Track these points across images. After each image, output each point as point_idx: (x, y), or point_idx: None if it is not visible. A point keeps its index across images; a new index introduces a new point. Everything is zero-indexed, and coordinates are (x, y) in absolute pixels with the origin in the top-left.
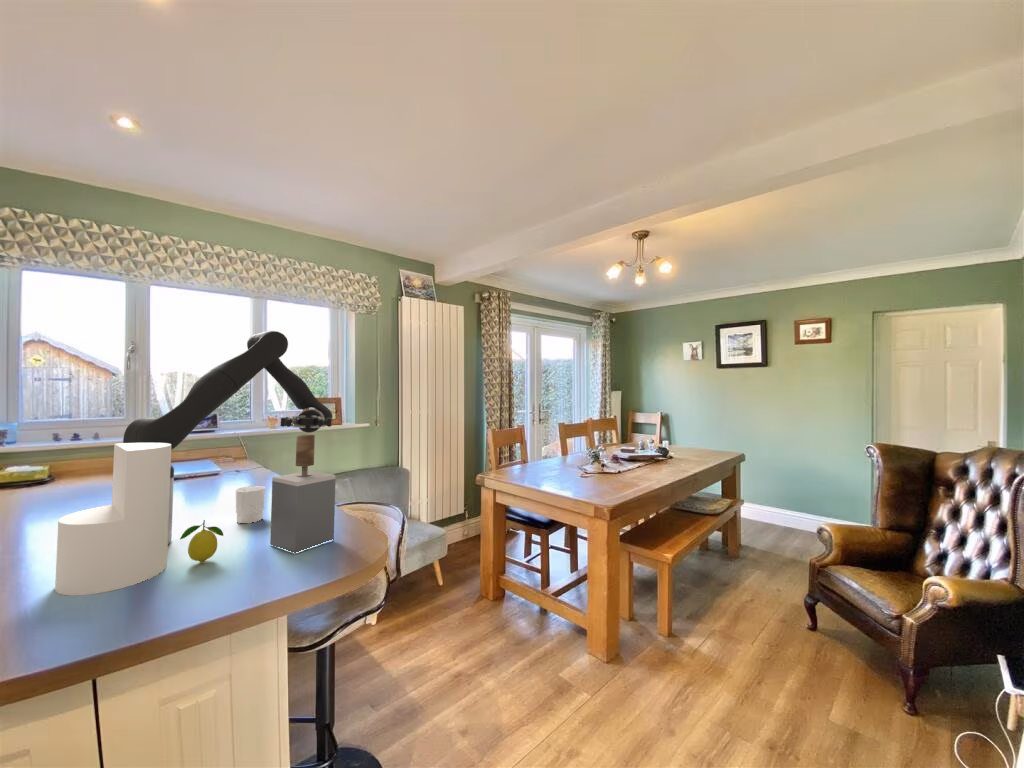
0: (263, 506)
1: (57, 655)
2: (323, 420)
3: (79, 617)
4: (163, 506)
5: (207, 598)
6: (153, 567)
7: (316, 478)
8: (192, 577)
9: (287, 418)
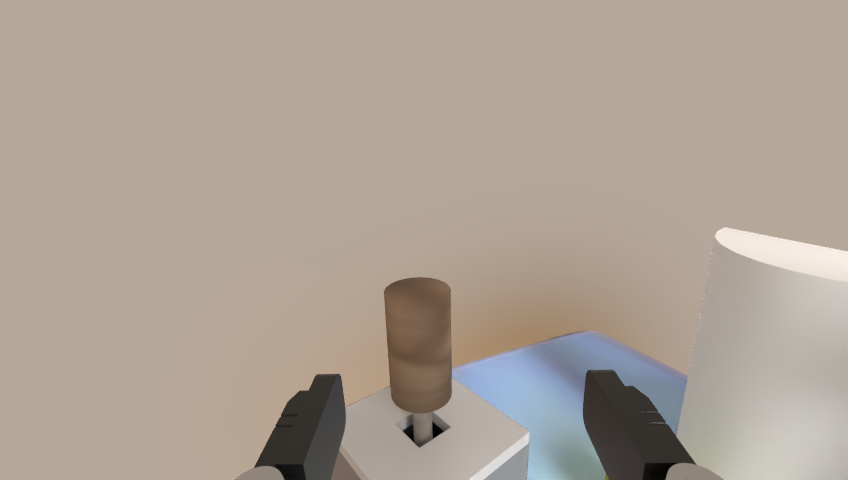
0: None
1: (590, 342)
2: (273, 452)
3: (645, 386)
4: (701, 376)
5: (520, 391)
6: None
7: (384, 389)
8: (592, 454)
9: (707, 469)
